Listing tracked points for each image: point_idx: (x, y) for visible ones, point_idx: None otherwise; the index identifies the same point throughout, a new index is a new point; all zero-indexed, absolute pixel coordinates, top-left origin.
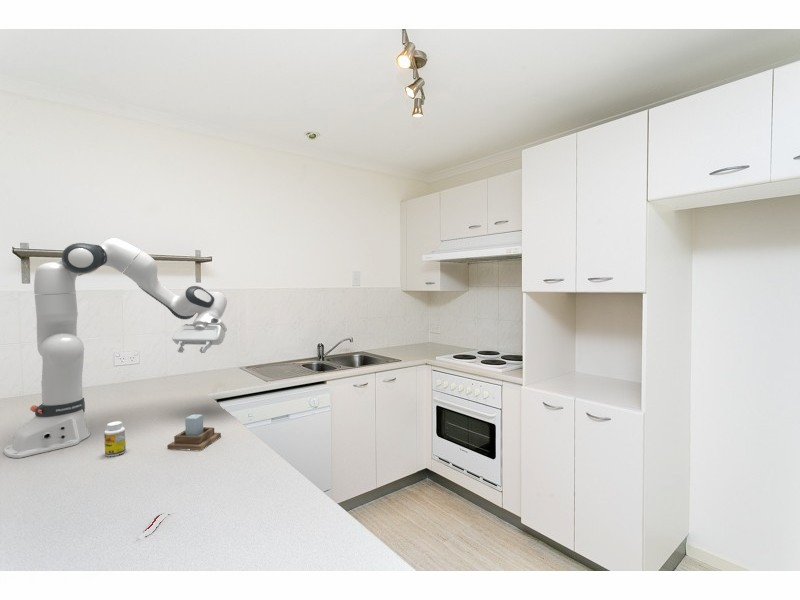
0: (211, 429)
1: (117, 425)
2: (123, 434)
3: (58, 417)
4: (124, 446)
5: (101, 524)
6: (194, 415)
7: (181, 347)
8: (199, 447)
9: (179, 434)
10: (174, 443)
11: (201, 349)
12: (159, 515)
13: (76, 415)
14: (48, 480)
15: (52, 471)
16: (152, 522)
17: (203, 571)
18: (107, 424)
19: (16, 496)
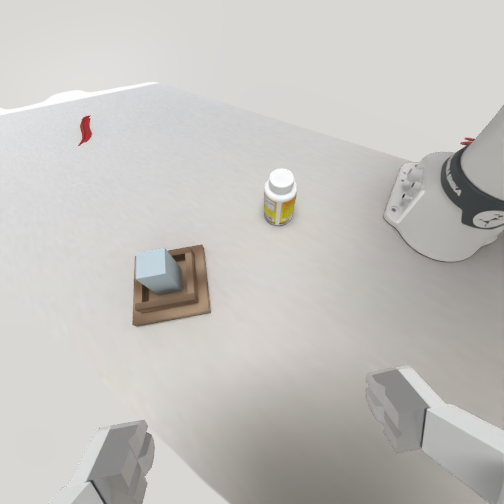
0: (135, 299)
1: (269, 177)
2: (265, 198)
3: (439, 169)
4: (265, 213)
5: (137, 120)
6: (154, 268)
7: (397, 401)
8: None
9: (187, 257)
10: (194, 253)
11: (116, 436)
12: (83, 132)
13: (436, 196)
14: (279, 147)
15: (303, 159)
16: (81, 123)
17: (15, 111)
18: (288, 170)
19: (271, 123)
